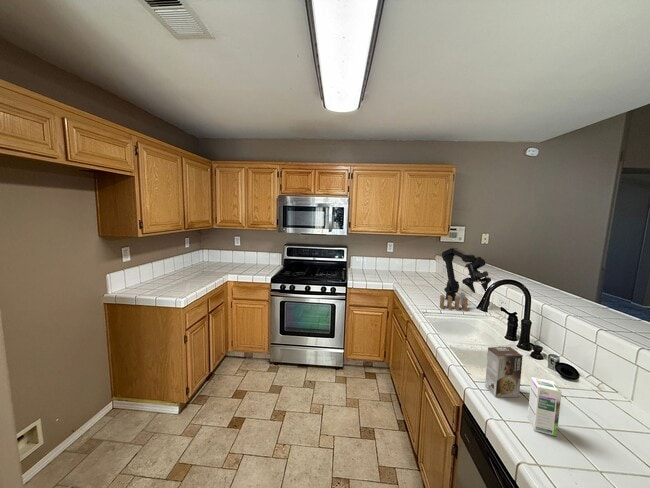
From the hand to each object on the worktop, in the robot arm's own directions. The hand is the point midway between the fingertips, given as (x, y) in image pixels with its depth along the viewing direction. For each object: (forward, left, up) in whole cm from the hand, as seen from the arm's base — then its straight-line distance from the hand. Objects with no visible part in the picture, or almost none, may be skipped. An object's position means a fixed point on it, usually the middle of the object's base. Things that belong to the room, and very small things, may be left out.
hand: (480, 292), depth 178 cm
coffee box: (+41, -81, -15) cm, 92 cm away
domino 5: (-9, -1, -15) cm, 18 cm away
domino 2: (-17, -7, -15) cm, 24 cm away
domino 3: (-13, -4, -15) cm, 20 cm away
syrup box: (+55, -90, -15) cm, 106 cm away
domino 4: (-15, +9, -15) cm, 23 cm away
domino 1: (-21, -11, -15) cm, 28 cm away
